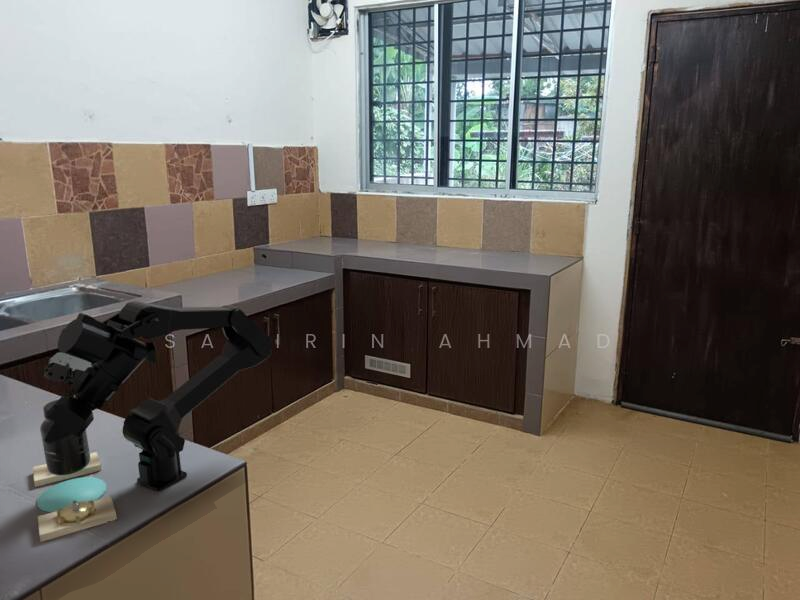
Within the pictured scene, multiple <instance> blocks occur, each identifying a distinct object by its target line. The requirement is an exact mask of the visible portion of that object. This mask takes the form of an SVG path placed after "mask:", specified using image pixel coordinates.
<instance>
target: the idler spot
mask: <svg viewBox="0 0 800 600" xmlns="http://www.w3.org/2000/svg"><path fill="white" fill-rule="evenodd" d="M106 491H107V483H106V481H104V480H103V479H101V478H98V477H90V476H88V477H75V478H70V479H66V480H65V481H64V480H63V481H61V482H59V483H56V484H54V485H52V486H50V487H48V488H47V489H46V490H44V491H43V492H42V493H41V494H40V495H38V497H37V499H36V506H37V508H38V509H40V510H41V511H43V512H46V513H52V512H56V511H57V510H58V509H63V508H64V507H66V506H68V505H70V504H72V503H73V502H72V501H75V500H76V501H77V502H88V501H90V500H93V501H95V500H99V499H101V498H102V496H103V495H104V494H105V493H106Z"/></svg>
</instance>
